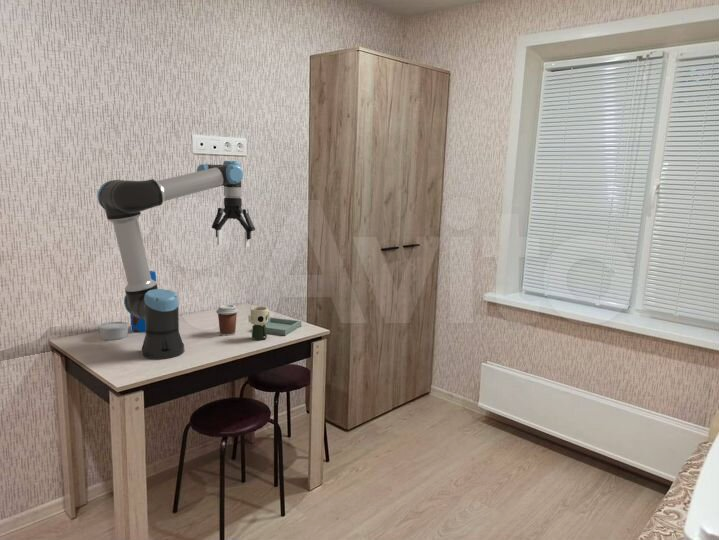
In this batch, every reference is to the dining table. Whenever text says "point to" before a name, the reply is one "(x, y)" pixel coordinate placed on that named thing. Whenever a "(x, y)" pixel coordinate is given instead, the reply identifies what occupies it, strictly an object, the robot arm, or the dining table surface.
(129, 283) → the robot arm
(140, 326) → the thermos
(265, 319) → the character mug
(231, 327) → the coffee cup
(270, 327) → the tray
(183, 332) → the dining table surface
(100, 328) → the ramekin
